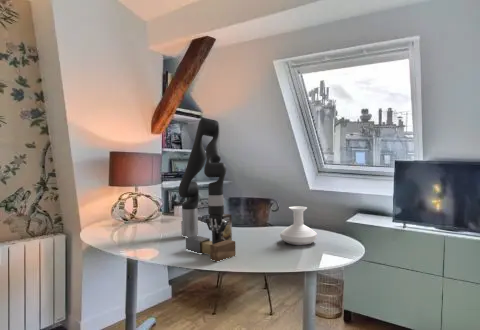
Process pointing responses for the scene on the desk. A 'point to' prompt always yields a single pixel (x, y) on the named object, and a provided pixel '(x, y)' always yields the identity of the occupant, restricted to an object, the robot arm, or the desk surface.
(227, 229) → the coffee box
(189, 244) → the grey rectangular box
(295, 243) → the white vase
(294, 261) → the desk surface
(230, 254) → the socket
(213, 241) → the tan and grey block
